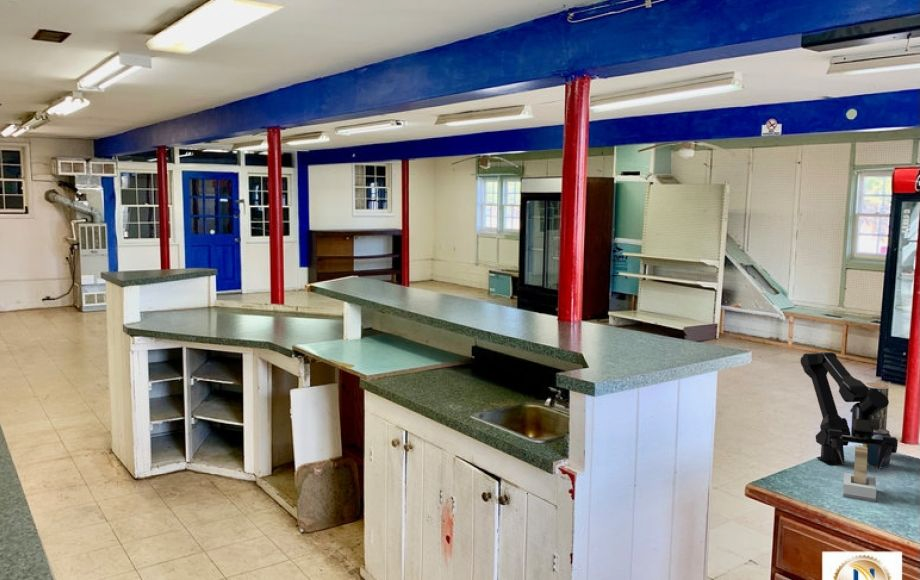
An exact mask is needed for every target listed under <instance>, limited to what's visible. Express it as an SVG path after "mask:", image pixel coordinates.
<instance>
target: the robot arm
mask: <svg viewBox="0 0 920 580" xmlns="http://www.w3.org/2000/svg"><path fill="white" fill-rule="evenodd" d="M800 365H801V367H802V370H803V371H804V373H805V374H806V376H808V377H809V378H810V379H811V381H812V386H813V389H814V391H815V397H816V399H817V403H818V406H819V409H820V413H821V416H822V420H821V423H820V424H819V425H820V426H819V428H820V430H819V432H818V433H817V434H816V435H815V441H816V443H817V444H819V445H820V446H821V447H820V456H817V457H816V459H817V458H818V459H817V460H819V461H820V462H822V463H823V464H825V465H828V466H832V465H833V466H835V465H845V464H846V461H845V451H844V447H847V446H848V445H849V443H852V444H853V443H854V444H861V445H863V444H868V445H875V446H881V449H880V454H879V459H878V466H877V467H876V468H877V470H880V466H881V464H882V462H883V460H884V459H885V457H886V456H887V455H890V456H892V454H897V451H898V443H899V441H898V438H897V437H895V436H891V437H889V436H883V437H882V440H879V439H872V436H873V430H877V431H878V430H879V420H878V419H873V415H876V414H878V413H879V412H880V411H882V410H883V409H884V408H885V407H887V406H889V403H890V401H889V400H890V399H889V397H888V398H887V397H886V396H885V395H884V394H883V393H881V392H879V391H878V389H877V388H871V389H868V387H867V386H866V383H864V382H863V381H861V380H859V379H857V378H855V377H853V376H852V375H851V374H850V372H849V371H848V370H847V369H846V366H844V365H843V363H842V362H841V361H840V360H839V359H838V356H837V353H836V352H833V351H831V352H829V351H827V352H826V351H824V352H813V353H812V352H811V353H809V352H808V353H807V352H806V353H804V354H803V355H802V356H801V358H800ZM828 374H829V376H831V377H832V378H833V380H834V381H835V383H836V384H837V385H838V393H839V395H840V396H841V399H842V400H843V401H844V402H845V403H854V404H853V405H852V407H851V409H850V411H849V412H850V413H851V428H850V427H849V424H848V420H847V419H846V418H845V417H841V416H840V415H839V413H838V409H837V405H836V403H835V400H834V396H833V392H832V389H831V386H830V383H829V380H828ZM887 408H888V407H887Z"/></svg>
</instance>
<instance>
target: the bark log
mask: <svg viewBox="0 0 920 580" xmlns="http://www.w3.org/2000/svg"><path fill="white" fill-rule="evenodd" d="M865 385H866V386H867V387H868V389H871V388H877V389H878V391H879V392H881V393H883V394H884V395H885V396H886V397H887V398H888V399H889V385H888V384H886V383H882V382H874V381H873V382H867V383H865ZM888 406H889V405H888ZM888 406H887V407H885V408H884V409H883V410H882V411H880V412H879V413H878V414H876V415H873V419H878V420H879V428H881V429H886V430H887V423H888ZM862 447H866V448H867V444H862Z"/></svg>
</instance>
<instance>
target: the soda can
mask: <svg viewBox="0 0 920 580" xmlns="http://www.w3.org/2000/svg"><path fill="white" fill-rule="evenodd" d="M883 436H889V437H892V436H891V434H890V430H888V429H887V428H886V429H881V428H879V430H878V431H877V430H873V436H872V439H879V440H882V437H883ZM880 449H881V446H875V445H868V444H867V465H869V466H870V465H871V467H873V466H874V468H877V466H878V459H879V454H880ZM890 463H891V455H887V456H886V457H885V459H884V460H883V462H882V464H881V466H880V467H881V469H885V468H887V467H888V466H889V465H890ZM884 467H885V468H884Z"/></svg>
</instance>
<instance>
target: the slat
mask: <svg viewBox="0 0 920 580" xmlns="http://www.w3.org/2000/svg"><path fill="white" fill-rule="evenodd" d="M853 466H854V467H853V474H854V481H853V483H856V484H862V485H866V476H867V467H868V463H867V448H866V447H863V446H859V445H858V446H857V445H855V446H854V464H853Z"/></svg>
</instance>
